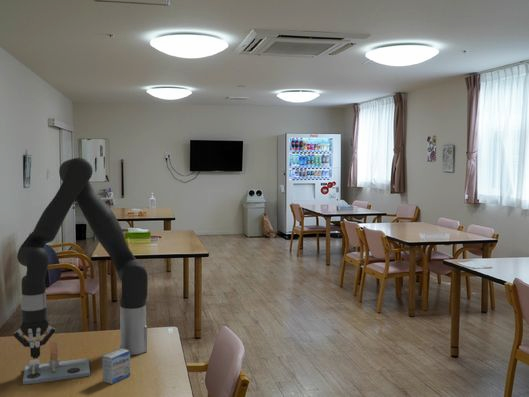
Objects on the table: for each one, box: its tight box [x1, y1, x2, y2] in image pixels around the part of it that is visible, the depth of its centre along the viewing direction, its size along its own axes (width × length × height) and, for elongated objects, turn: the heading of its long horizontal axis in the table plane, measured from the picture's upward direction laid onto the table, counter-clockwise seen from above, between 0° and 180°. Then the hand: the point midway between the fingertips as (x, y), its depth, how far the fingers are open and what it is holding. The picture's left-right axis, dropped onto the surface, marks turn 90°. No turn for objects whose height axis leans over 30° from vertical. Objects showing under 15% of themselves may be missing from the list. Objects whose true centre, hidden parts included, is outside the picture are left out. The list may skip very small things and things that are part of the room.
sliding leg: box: [48, 338, 60, 373], centre depth 169 cm, size 3×7×9 cm, turn 21°
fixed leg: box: [28, 358, 41, 376], centre depth 167 cm, size 3×7×2 cm, turn 21°
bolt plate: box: [22, 358, 91, 386], centre depth 170 cm, size 20×12×2 cm, turn 111°
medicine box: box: [101, 348, 131, 385], centre depth 166 cm, size 8×4×9 cm, turn 148°
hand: (35, 357), depth 169 cm, fingers closed
